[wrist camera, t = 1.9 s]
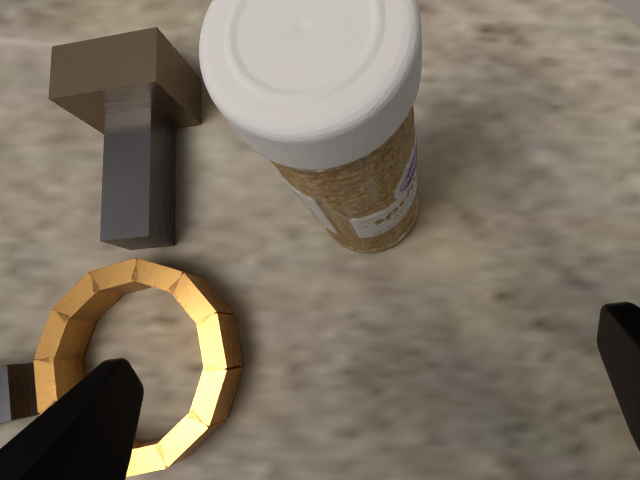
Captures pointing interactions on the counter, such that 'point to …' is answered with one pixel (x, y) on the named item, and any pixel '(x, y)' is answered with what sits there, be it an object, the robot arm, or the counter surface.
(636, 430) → the robot arm
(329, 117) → the sprinkles bottle
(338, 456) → the counter surface
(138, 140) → the coupling jig
